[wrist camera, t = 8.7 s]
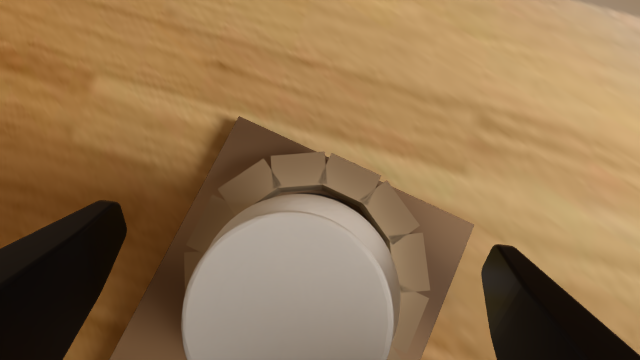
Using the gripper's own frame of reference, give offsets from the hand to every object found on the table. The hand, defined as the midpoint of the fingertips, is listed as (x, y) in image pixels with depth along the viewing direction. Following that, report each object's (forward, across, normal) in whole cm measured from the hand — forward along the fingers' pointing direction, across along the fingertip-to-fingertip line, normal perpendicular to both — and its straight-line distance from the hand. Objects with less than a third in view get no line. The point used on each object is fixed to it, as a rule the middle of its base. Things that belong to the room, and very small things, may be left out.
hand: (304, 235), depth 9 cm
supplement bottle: (+5, 0, +7) cm, 8 cm away
